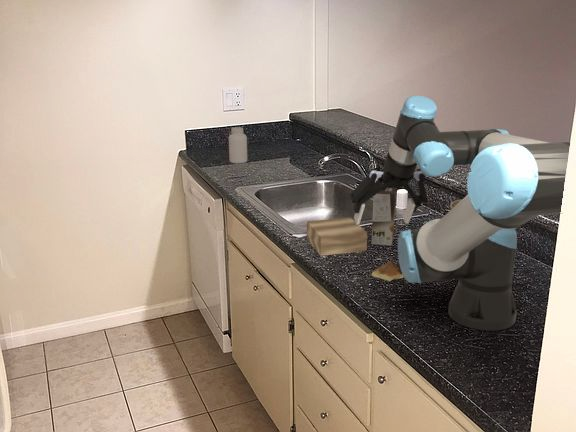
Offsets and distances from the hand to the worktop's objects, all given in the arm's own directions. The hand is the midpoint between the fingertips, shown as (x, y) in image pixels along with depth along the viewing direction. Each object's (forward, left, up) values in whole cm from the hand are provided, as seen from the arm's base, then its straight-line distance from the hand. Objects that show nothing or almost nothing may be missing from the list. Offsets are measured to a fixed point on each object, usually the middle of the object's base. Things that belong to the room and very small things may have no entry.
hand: (381, 220), depth 172 cm
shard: (0, -2, -16) cm, 16 cm away
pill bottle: (+130, +13, -15) cm, 132 cm away
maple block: (+23, +4, -16) cm, 28 cm away
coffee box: (+23, -11, -15) cm, 30 cm away
